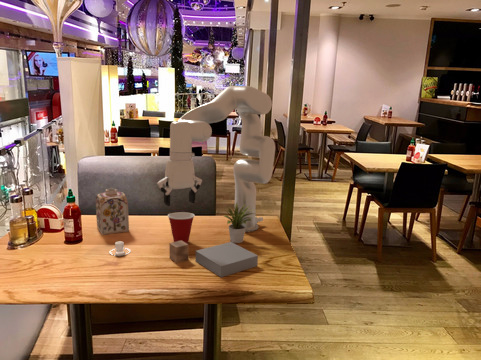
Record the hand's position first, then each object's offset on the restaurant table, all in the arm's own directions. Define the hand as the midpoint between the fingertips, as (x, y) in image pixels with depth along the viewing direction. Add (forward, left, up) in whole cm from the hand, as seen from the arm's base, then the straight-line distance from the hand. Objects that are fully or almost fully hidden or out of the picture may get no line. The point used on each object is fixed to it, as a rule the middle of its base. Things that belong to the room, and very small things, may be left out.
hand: (179, 203), depth 146 cm
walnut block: (+1, +1, -21) cm, 21 cm away
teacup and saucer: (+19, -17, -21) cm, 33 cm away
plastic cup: (-8, -13, -21) cm, 26 cm away
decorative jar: (+9, -43, -21) cm, 49 cm away
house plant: (-27, -1, -21) cm, 34 cm away
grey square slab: (-11, +14, -21) cm, 27 cm away
